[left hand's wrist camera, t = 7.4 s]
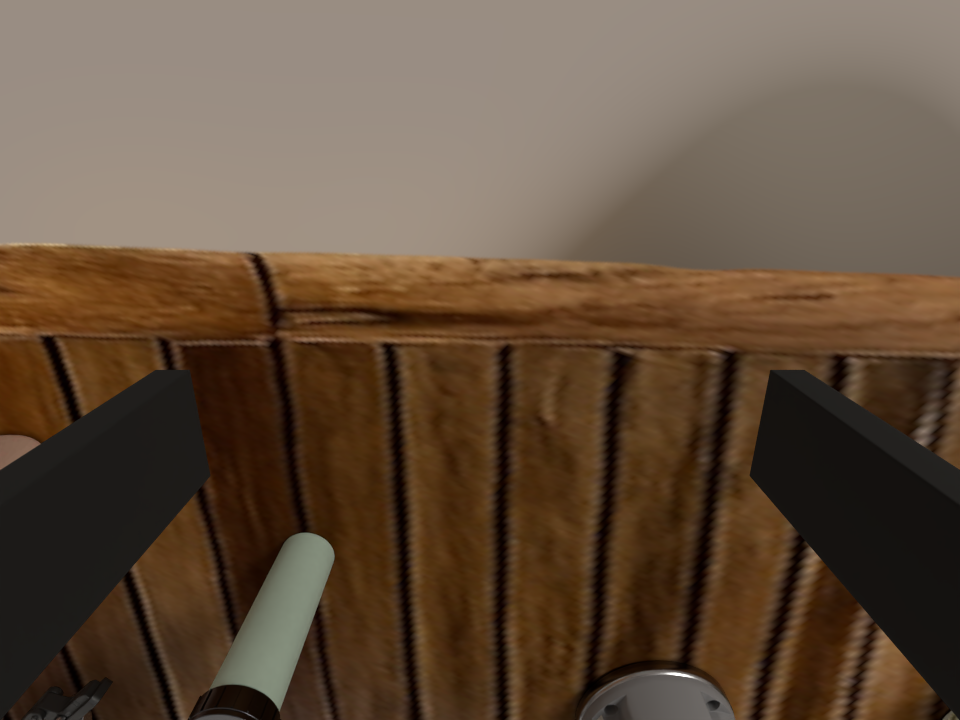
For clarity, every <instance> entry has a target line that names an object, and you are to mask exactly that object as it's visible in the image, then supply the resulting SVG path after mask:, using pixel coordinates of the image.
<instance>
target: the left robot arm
mask: <svg viewBox="0 0 960 720" xmlns="http://www.w3.org/2000/svg"><path fill="white" fill-rule="evenodd" d="M209 477H210V471H209V466H208V461H207V456H206V451H205V446H204V441H203V436H202V431H201V426H200V421H199V415H198V410H197V405H196V400H195V395H194V390H193V385H192V380H191V375H190V370H155V371H153V372H152V373H150V374H149V375H147V376H146V377H144V378H143V379H141V380H139V381H138V382H136V383H135V384H133V385H132V386H130V387H128V388H127V389H125V390H124V391H122V392H121V393H119V394H118V395H116V396H114V397H113V398H111V399H110V400H108V401H107V402H105V403H104V404H102V405H100V406H99V407H97V408H96V409H94V410H93V411H91V412H90V413H88V414H86V415H85V416H83V417H82V418H80V419H79V420H77V421H76V422H74V423H72V424H71V425H69V426H68V427H66V428H65V429H63V430H62V431H60V432H58V433H57V434H55V435H54V436H52V437H51V438H49V439H48V440H46V441H44V442H43V443H41V444H40V445H38V446H37V447H35V448H34V449H32V450H30V451H29V452H27V453H26V454H24V455H23V456H21V457H20V458H18V459H16V460H15V461H13V462H12V463H10V464H9V465H7V466H6V467H4V468H2V469H1V470H0V720H1V719H2V718H3V717H4V715H5V714H6V713H7V712H8V711H9V710H10V708H11V707H12V706H13V705H14V704H15V703H16V701H17V700H18V699H19V698H20V697H21V696H22V695H23V693H24V692H25V691H26V690H27V689H28V688H29V686H30V685H31V684H32V683H33V682H34V681H35V679H36V678H37V677H38V676H39V675H40V674H41V672H42V671H43V670H44V669H45V668H46V667H47V665H48V664H49V663H50V662H51V661H52V660H53V658H54V657H55V656H56V655H57V654H58V653H59V651H60V650H61V649H62V648H63V647H64V646H65V644H66V643H67V642H68V641H69V640H70V639H71V637H72V636H73V635H74V634H75V633H76V632H77V630H78V629H79V628H80V627H81V626H82V625H83V623H84V622H85V621H86V620H87V619H88V618H89V616H90V615H91V614H92V613H93V612H94V611H95V609H96V608H97V607H98V606H99V605H100V604H101V603H102V601H103V600H104V599H105V598H106V597H107V596H108V594H109V593H110V592H111V591H112V590H113V589H114V587H115V586H116V585H117V584H118V583H119V582H120V580H121V579H122V578H123V577H124V576H125V575H126V573H127V572H128V571H129V570H130V569H131V568H132V566H133V565H134V564H135V563H136V562H137V561H138V559H139V558H140V557H141V556H142V555H143V554H144V552H145V551H146V550H147V549H148V548H149V547H150V545H151V544H152V543H153V542H154V541H155V540H156V538H157V537H158V536H159V535H160V534H161V533H162V531H163V530H164V529H165V528H166V527H167V526H168V524H169V523H170V522H171V521H172V520H173V519H174V517H175V516H176V515H177V514H178V513H179V512H180V511H181V509H182V508H183V507H184V506H185V505H186V504H187V502H188V501H189V500H190V499H191V498H192V497H193V495H194V494H195V493H196V492H197V491H198V490H199V488H200V487H201V486H202V485H203V484H204V483H205V481H206V480H207V479H208V478H209ZM750 477H751V478H752V479H753V480H754V481H755V483H756V484H757V485H758V486H759V487H760V488H761V490H762V491H763V492H764V493H765V494H766V495H767V497H768V498H769V499H770V500H771V501H772V502H773V504H774V505H775V506H776V507H777V508H778V509H779V511H780V512H781V513H782V514H783V515H784V516H785V517H786V519H787V520H788V521H789V522H790V523H791V524H792V526H793V527H794V528H795V529H796V530H797V531H798V533H799V534H800V535H801V536H802V537H803V538H804V540H805V541H806V542H807V543H808V544H809V545H810V547H811V548H812V549H813V550H814V551H815V552H816V554H817V555H818V556H819V557H820V558H821V559H822V561H823V562H824V563H825V564H826V565H827V566H828V568H829V569H830V570H831V571H832V572H833V573H834V575H835V576H836V577H837V578H838V579H839V580H840V582H841V583H842V584H843V585H844V586H845V587H846V589H847V590H848V591H849V592H850V593H851V594H852V596H853V597H854V598H855V599H856V600H857V601H858V603H859V604H860V605H861V606H862V607H863V608H864V609H865V611H866V612H867V613H868V614H869V615H870V616H871V618H872V619H873V620H874V621H875V622H876V623H877V625H878V626H879V627H880V628H881V629H882V630H883V632H884V633H885V634H886V635H887V636H888V637H889V639H890V640H891V641H892V642H893V643H894V644H895V646H896V647H897V648H898V649H899V650H900V651H901V653H902V654H903V655H904V656H905V657H906V658H907V660H908V661H909V662H910V663H911V664H912V665H913V667H914V668H915V669H916V670H917V671H918V672H919V674H920V675H921V676H922V677H923V678H924V679H925V681H926V682H927V683H928V684H929V685H930V686H931V688H932V689H933V690H934V691H935V692H936V693H937V695H938V696H939V697H940V698H941V699H942V700H943V701H944V703H945V704H946V705H947V706H948V707H949V708H950V710H951V711H952V712H953V713H954V714H955V715H956V717H957V718H958V719H959V720H960V470H959V469H958V468H956V467H954V466H953V465H951V464H950V463H948V462H947V461H945V460H944V459H942V458H940V457H939V456H937V455H936V454H934V453H933V452H931V451H930V450H928V449H926V448H925V447H923V446H922V445H920V444H919V443H917V442H916V441H914V440H912V439H911V438H909V437H908V436H906V435H905V434H903V433H902V432H900V431H898V430H897V429H895V428H894V427H892V426H891V425H889V424H888V423H886V422H884V421H883V420H881V419H880V418H878V417H877V416H875V415H874V414H872V413H870V412H869V411H867V410H866V409H864V408H863V407H861V406H860V405H858V404H856V403H855V402H853V401H852V400H850V399H849V398H847V397H846V396H844V395H842V394H841V393H839V392H838V391H836V390H835V389H833V388H832V387H830V386H828V385H827V384H825V383H824V382H822V381H821V380H819V379H817V378H816V377H814V376H813V375H811V374H810V373H808V372H807V371H805V370H770V375H769V380H768V385H767V390H766V395H765V400H764V405H763V410H762V415H761V421H760V426H759V431H758V436H757V441H756V446H755V451H754V456H753V461H752V466H751V471H750ZM575 720H735V717H734V713H733V710H732V707H731V705H730V703H729V701H728V699H727V696H726V694H725V692H724V690H723V689H722V687H721V686H720V684H719V683H718V682H717V681H716V680H715V679H714V678H713V677H711V676H710V675H709V674H707V673H706V672H704V671H702V670H700V669H698V668H696V667H693V666H690V665H687V664H683V663H679V662H672V661H649V662H642V663H636V664H632V665H629V666H625V667H623V668H620V669H617V670H615V671H613V672H611V673H609V674H608V675H606V676H604V677H603V678H601V679H600V680H598V681H597V682H596V683H595V684H593V685H592V686H591V687H590V688H589V689H588V691H587V692H586V693H585V694H584V696H583V697H582V699H581V701H580V703H579V705H578V707H577V710H576V715H575Z"/></svg>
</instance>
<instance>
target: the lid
mask: <svg viewBox="0 0 960 720" xmlns="http://www.w3.org/2000/svg"><path fill="white" fill-rule="evenodd" d="M188 720H281V719H280V714H279V709H278V708H277V706H276V705H275V703H274V702H273V701H272V700H271V699H270V698H269V697H268V696H267V695H265V694H264V693H262V692H260V691H258V690H256V689H254V688H251V687H248V686H244V685H234V684H231V685H221V686H218V687H215V688H212V689H210V690H208V691H207V692H206V693H204V694H203V695H202V696H200V697H199V699H198V701H197V703H196V705H195V707H194V708H193V710H192V712H191V714H190V716H189V718H188Z"/></svg>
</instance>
